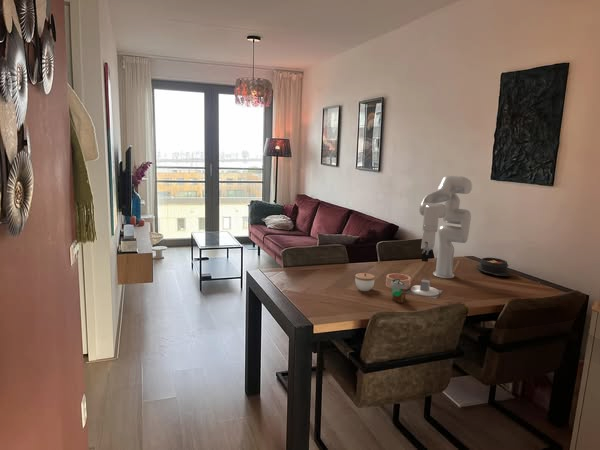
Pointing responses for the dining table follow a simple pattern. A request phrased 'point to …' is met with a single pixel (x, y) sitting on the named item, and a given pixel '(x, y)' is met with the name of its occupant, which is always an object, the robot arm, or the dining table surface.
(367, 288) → the lidded jar
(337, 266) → the dining table surface
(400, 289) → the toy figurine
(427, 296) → the mat
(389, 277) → the bowl
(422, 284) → the lid
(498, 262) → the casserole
